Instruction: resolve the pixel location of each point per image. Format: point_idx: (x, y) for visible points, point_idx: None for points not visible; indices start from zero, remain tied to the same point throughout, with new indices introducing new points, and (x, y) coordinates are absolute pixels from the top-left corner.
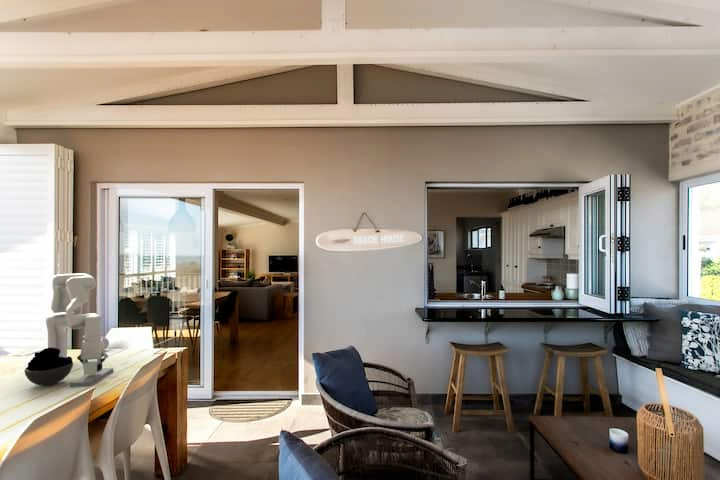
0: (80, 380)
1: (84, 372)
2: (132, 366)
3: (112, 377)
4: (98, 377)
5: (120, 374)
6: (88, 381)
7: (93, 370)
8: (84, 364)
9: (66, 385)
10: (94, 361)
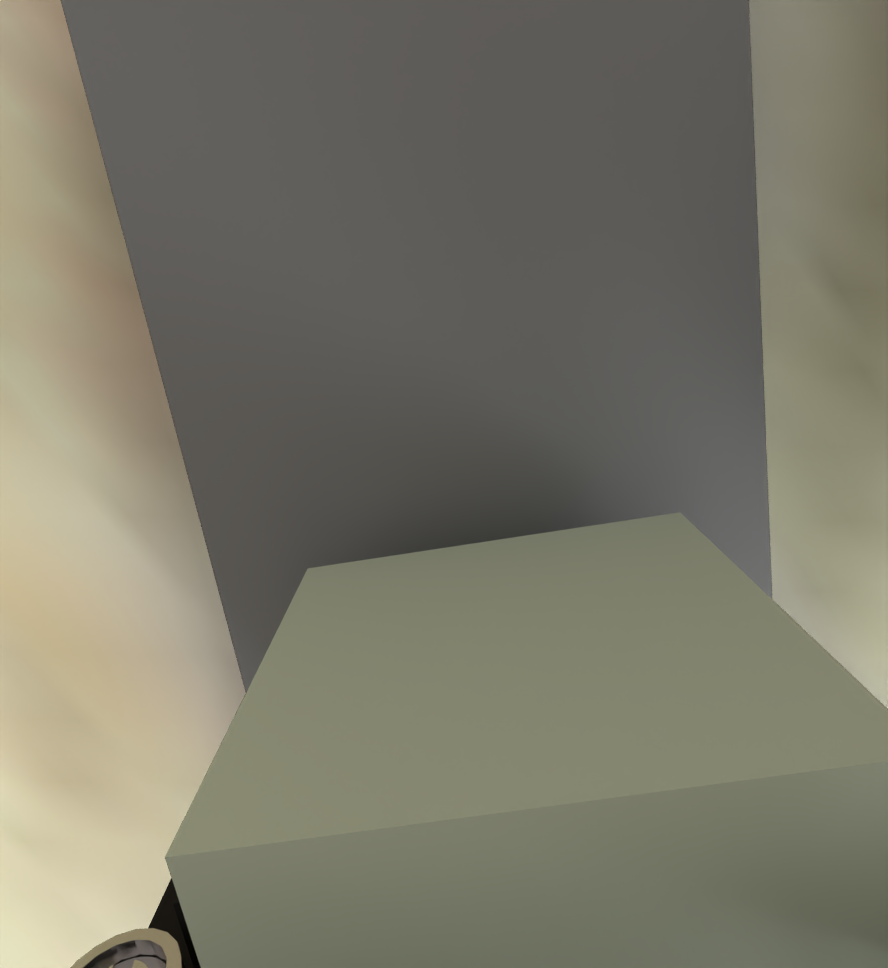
0: (541, 168)
1: (677, 539)
2: None
3: (70, 700)
4: (197, 488)
5: (50, 883)
6: (181, 54)
7: (362, 615)
8: (848, 719)
9: (880, 89)
10: None
